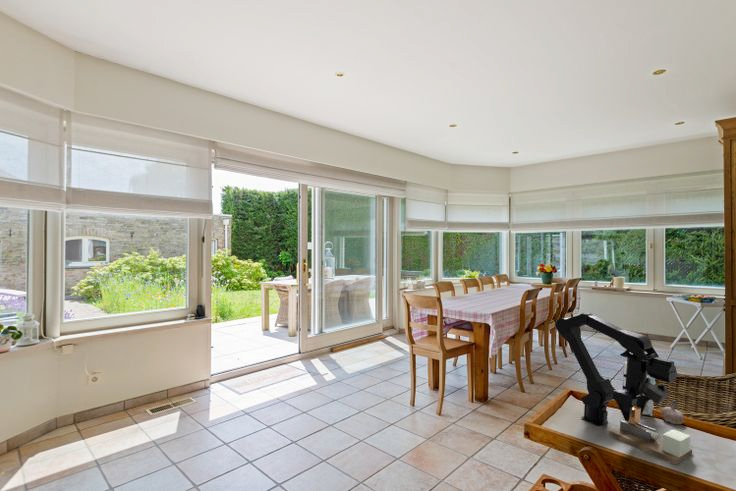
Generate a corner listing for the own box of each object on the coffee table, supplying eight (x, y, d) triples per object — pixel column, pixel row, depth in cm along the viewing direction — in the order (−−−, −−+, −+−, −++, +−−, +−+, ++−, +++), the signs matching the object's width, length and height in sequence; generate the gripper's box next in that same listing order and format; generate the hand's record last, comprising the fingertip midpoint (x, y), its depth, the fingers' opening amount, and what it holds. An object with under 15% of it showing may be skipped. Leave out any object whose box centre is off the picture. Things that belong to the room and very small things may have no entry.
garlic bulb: (670, 415, 149) (671, 395, 149) (690, 425, 142) (692, 403, 142) (655, 417, 147) (656, 396, 147) (674, 427, 140) (676, 405, 140)
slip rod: (619, 427, 133) (621, 405, 133) (625, 425, 135) (627, 403, 135) (653, 441, 125) (655, 418, 124) (659, 438, 127) (660, 415, 126)
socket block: (661, 450, 121) (663, 434, 121) (671, 444, 125) (673, 429, 125) (679, 457, 117) (680, 441, 117) (689, 451, 121) (690, 435, 121)
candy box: (654, 416, 147) (657, 374, 147) (636, 414, 148) (639, 372, 148) (636, 401, 161) (639, 362, 160) (620, 399, 162) (623, 360, 161)
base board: (608, 434, 132) (609, 430, 132) (626, 426, 139) (626, 422, 139) (675, 464, 116) (675, 459, 116) (691, 454, 122) (692, 449, 122)
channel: (619, 429, 133) (620, 420, 133) (625, 427, 135) (626, 418, 135) (649, 442, 125) (650, 432, 125) (655, 439, 127) (656, 429, 127)
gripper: (650, 386, 119) (647, 435, 120) (677, 376, 129) (673, 422, 129) (612, 373, 128) (609, 420, 129) (639, 365, 138) (636, 408, 139)
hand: (633, 417), depth 131 cm, fingers open, 8 cm apart
